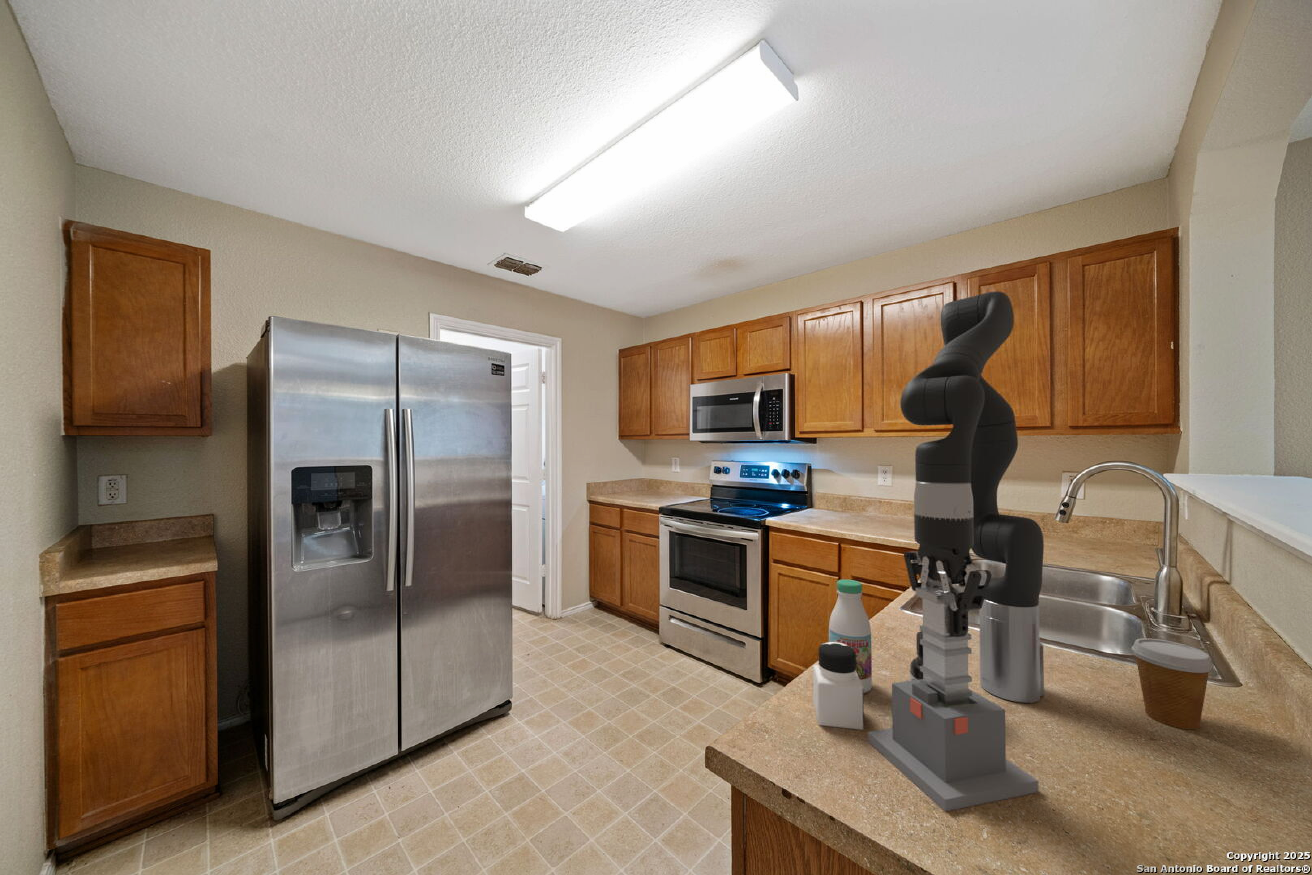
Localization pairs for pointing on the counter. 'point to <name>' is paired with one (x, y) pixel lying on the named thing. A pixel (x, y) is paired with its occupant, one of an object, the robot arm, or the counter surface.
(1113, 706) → the counter surface
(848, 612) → the milk bottle
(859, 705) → the medicine bottle
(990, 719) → the stand base
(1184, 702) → the disposable coffee cup
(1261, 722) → the counter surface
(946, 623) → the column
